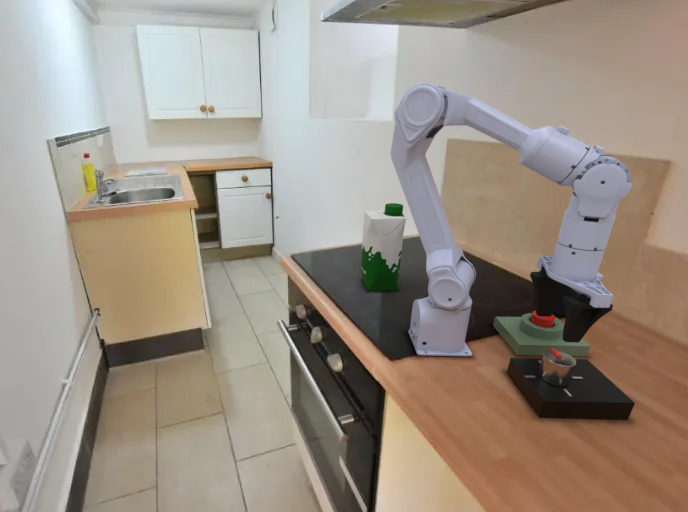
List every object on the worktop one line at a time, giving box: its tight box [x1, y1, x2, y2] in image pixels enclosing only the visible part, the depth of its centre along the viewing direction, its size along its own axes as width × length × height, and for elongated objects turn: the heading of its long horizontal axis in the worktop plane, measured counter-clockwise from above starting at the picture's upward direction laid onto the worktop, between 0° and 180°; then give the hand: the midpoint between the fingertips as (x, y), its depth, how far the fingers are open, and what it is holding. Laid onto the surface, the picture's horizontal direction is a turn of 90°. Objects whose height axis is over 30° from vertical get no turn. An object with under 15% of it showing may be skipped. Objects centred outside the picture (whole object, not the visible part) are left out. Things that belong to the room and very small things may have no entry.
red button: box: [530, 310, 556, 328], centre depth 69 cm, size 4×4×2 cm
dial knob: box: [538, 348, 576, 386], centre depth 55 cm, size 4×4×4 cm
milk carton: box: [360, 202, 407, 292], centre depth 90 cm, size 9×9×20 cm
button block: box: [492, 312, 591, 358], centre depth 70 cm, size 12×10×4 cm
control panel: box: [506, 357, 636, 421], centre depth 56 cm, size 12×10×3 cm
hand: (556, 327), depth 59 cm, fingers open, 7 cm apart
